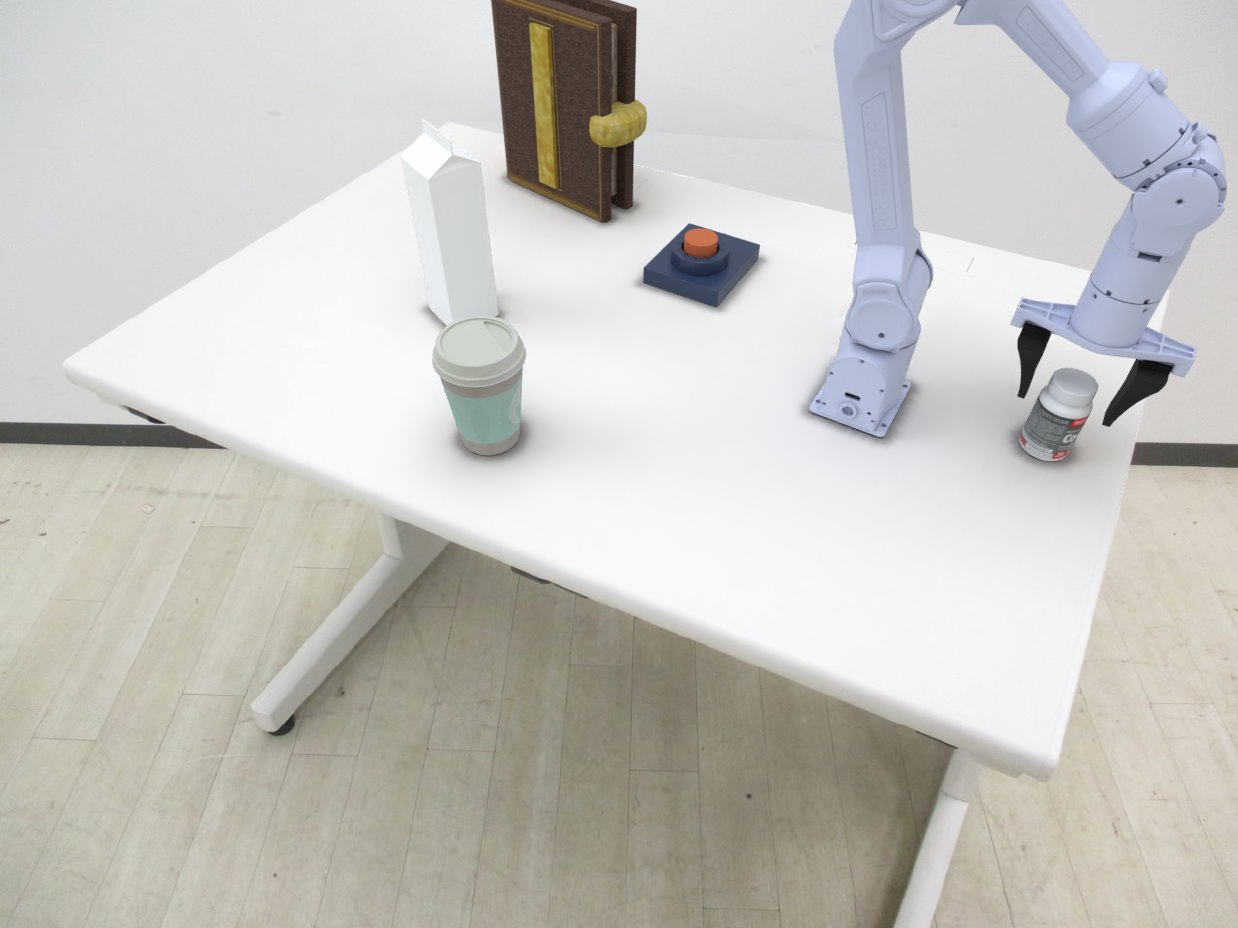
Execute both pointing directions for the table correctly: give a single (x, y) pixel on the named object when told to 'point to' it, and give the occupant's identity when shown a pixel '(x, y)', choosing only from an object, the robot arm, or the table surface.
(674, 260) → the block
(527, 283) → the table surface
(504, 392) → the coffee cup
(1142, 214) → the robot arm
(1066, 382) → the pill bottle
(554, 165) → the book
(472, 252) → the milk
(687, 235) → the orange push button
